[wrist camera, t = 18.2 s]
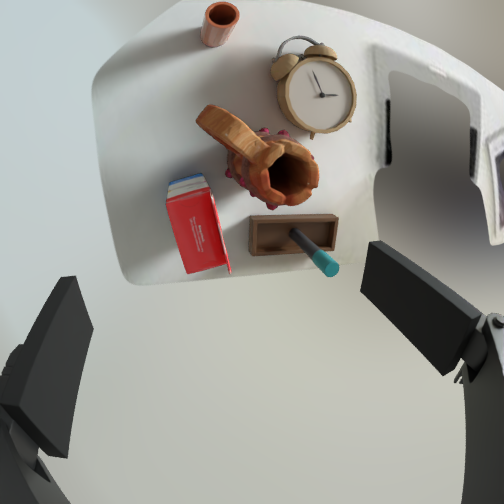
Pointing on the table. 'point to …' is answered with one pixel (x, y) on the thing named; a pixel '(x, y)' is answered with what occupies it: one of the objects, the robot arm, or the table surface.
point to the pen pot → (218, 23)
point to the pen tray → (277, 233)
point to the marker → (315, 253)
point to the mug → (262, 159)
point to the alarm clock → (314, 89)
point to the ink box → (196, 224)
